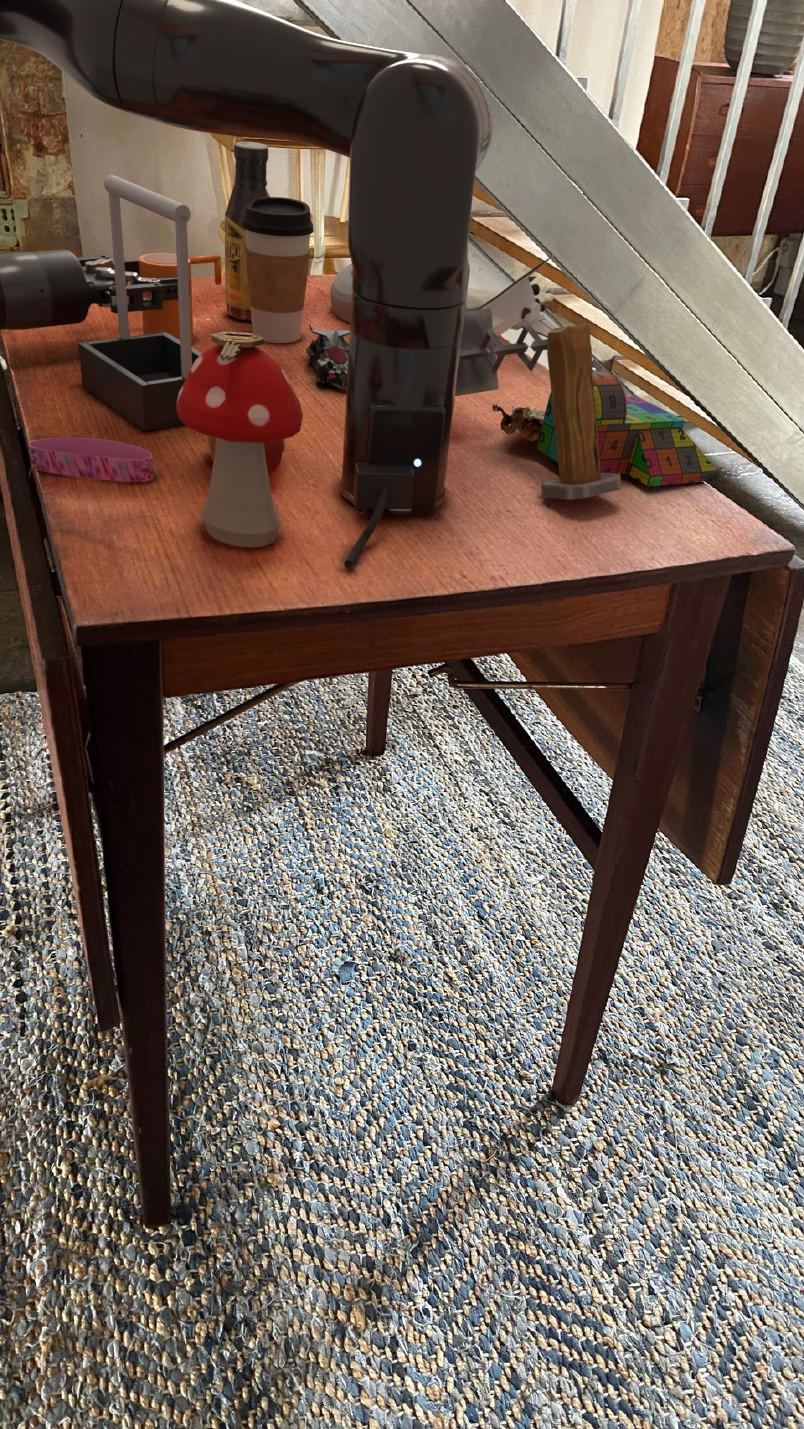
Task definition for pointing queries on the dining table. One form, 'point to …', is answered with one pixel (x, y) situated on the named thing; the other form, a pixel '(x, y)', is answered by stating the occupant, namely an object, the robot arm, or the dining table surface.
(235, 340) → the key
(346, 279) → the decorative stone
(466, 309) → the arrowhead
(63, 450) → the headband
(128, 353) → the basket
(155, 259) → the orange mug
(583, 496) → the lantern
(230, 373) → the decorative mushroom
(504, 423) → the brown crumpled lump
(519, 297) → the space shuttle model
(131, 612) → the dining table surface
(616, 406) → the building blocks
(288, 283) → the coffee cup
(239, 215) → the sauce bottle
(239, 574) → the dining table surface
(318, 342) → the toy car
